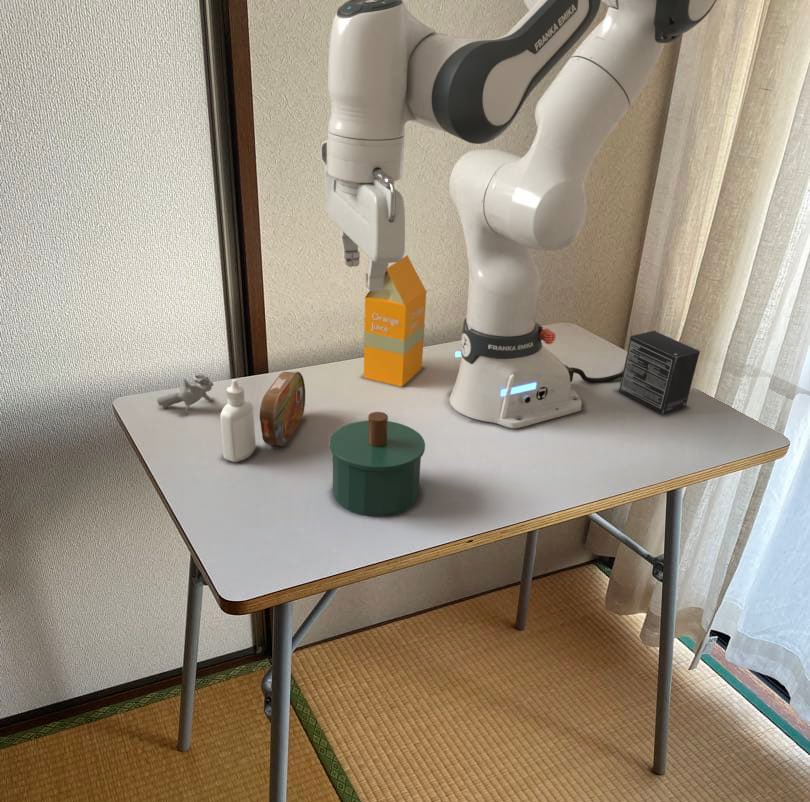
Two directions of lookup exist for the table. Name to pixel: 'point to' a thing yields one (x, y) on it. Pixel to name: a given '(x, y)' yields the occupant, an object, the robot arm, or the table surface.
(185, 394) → the grey creature figurine
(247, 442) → the eye dropper bottle
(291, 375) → the tin
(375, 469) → the lid
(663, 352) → the small box
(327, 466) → the table surface
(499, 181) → the robot arm
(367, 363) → the orange juice
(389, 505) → the pot
